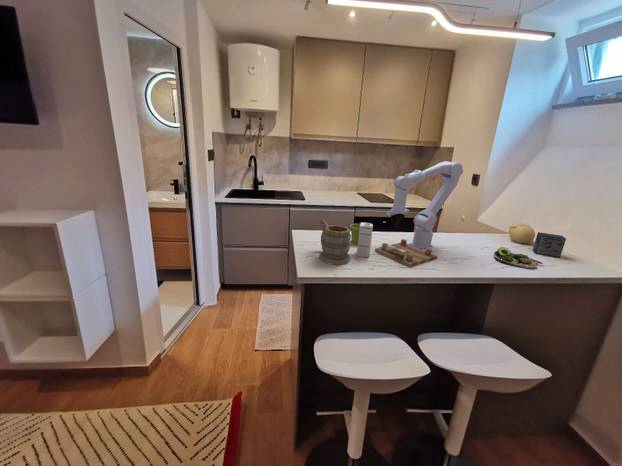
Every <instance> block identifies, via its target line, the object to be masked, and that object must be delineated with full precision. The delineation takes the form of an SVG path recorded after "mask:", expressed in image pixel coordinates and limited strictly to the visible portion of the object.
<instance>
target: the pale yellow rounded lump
mask: <svg viewBox="0 0 622 466" xmlns="http://www.w3.org/2000/svg"><path fill="white" fill-rule="evenodd" d="M508 234H509V238H510V239H511V241H512V242H516V243H520V244H526V245H527V244H530V243H532V242H533V241H534V240H535V239H536V232H535V229H534V228H533V227H532V226H530V224H526V223H521V222H519V223H517V224H514V225H513V224H512V225H510V226H509V228H508Z"/></svg>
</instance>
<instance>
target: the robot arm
mask: <svg viewBox="0 0 622 466" xmlns="http://www.w3.org/2000/svg"><path fill="white" fill-rule="evenodd" d="M463 173H464V169H463V165H462V164H461V163H460V162H453V161H452V162H451V161H447V160H444V161H442V162H438V163H437V164H436V165H435V164H434V165H433V166H431V167H429V168H425V169H423V170H421V169H414V170H413V171H412V172H411V173H405V174H404V176H403V175H399V176H397V177H396V178H395V180H394V181H393V185H394V187H395V189H394V197H393V203H392V208H391V209H390V210H387V211H386V213H385V214H386V216H388V217H390V218H391V222H392V228H393V229H395V230H397V229H399V228H400V225H401V223H402V221H403V219H405V217H406V216H405V214H409V212H410V209H408V208H406V205H407V204H406V203H407V198H408V193H409V192H408V191H409V189H411V187H412V186H415V185H417V184H419V183H422V182H424V180H425V178H428V177H431V176H434V175H437V174H440V175H441V176H442V178H443V184H442V186H441V187H440V188H439V190H438V191H437V192H436V194H435V196H434V197H433V198H432V199H431V201H430V202H429V204H428V205H427V207H426V208H425V209H423V210H421V211H420V212H419V213H418V214H417V215H416V216H414V219H413V224H414V233H413V238H412V242H409V243H408V244H409V245H411V246H414V247H416V248H419V249H421V250H424V249H428V248H430V247H432V246H433V245H432V242H433V235H434V233H433V229H434V227H435V224H436V223H437V221H438V220H437V213H438V212H439V211H440V210H441V209H442V206H443V205H444V204H445V203H446V201H447V199H448V198H449V197H450V196H451V194H452V192H453V191H454V190H455V188H456V187H457V185H458V183H459V180H460V177H461V175H462V174H463Z"/></svg>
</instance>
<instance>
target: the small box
mask: <svg viewBox="0 0 622 466" xmlns="http://www.w3.org/2000/svg"><path fill="white" fill-rule="evenodd" d="M534 240H535V241H534V245H533V247H532V250H531V251H533V253H534V254H535V255H539V256H543V257H545V256H546V257H552V258H558V259H560V258H561V256H562V253H563V251H564V247H565V243H566V241H567V238H566V237H565V236H563V235H559V234H553V233H545V232H537V234H536V236H535V239H534Z"/></svg>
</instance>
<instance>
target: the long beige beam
mask: <svg viewBox="0 0 622 466" xmlns="http://www.w3.org/2000/svg"><path fill="white" fill-rule="evenodd" d="M381 247H382V249H383V250H386V251H389V252H391V253H394V254H395V253H396V252H398V253H400V254H403V255H404V256H405V255H406V250H403V249H400V248H397V247H395V246H392V244H389V243H386V242H382V243H381Z"/></svg>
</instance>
